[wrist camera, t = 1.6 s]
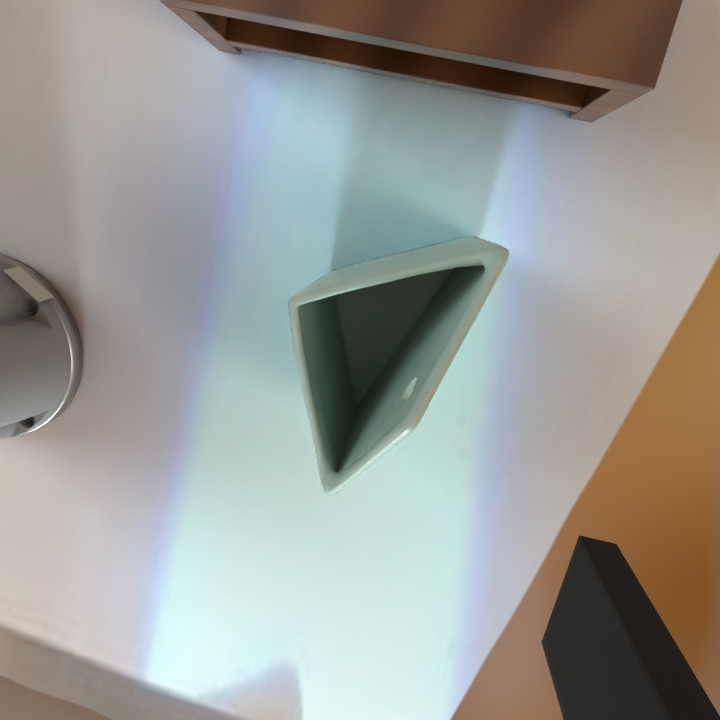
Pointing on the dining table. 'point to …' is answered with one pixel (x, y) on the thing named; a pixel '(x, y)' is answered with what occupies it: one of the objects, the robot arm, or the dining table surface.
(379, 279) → the planter
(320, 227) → the dining table surface
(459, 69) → the shelf
